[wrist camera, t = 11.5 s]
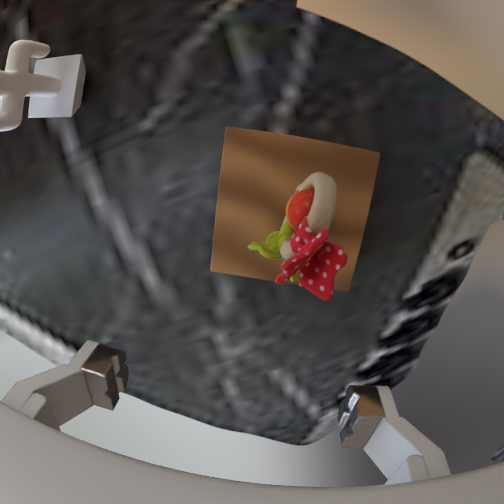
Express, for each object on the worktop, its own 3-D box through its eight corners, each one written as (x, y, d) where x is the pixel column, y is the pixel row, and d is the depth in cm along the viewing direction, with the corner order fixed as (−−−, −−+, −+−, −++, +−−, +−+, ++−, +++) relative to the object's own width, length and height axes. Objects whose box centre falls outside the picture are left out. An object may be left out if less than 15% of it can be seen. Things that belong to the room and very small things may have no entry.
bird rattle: (269, 176, 30) (239, 270, 29) (289, 130, 18) (242, 276, 18) (332, 198, 30) (305, 290, 29) (382, 166, 19) (345, 308, 18)
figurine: (99, 50, 29) (15, 25, 15) (87, 125, 33) (-3, 134, 19) (55, 55, 29) (-30, 41, 15) (45, 125, 33) (-43, 136, 19)
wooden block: (235, 127, 32) (225, 126, 26) (363, 149, 31) (380, 153, 26) (220, 249, 37) (210, 271, 31) (338, 267, 36) (348, 292, 31)
